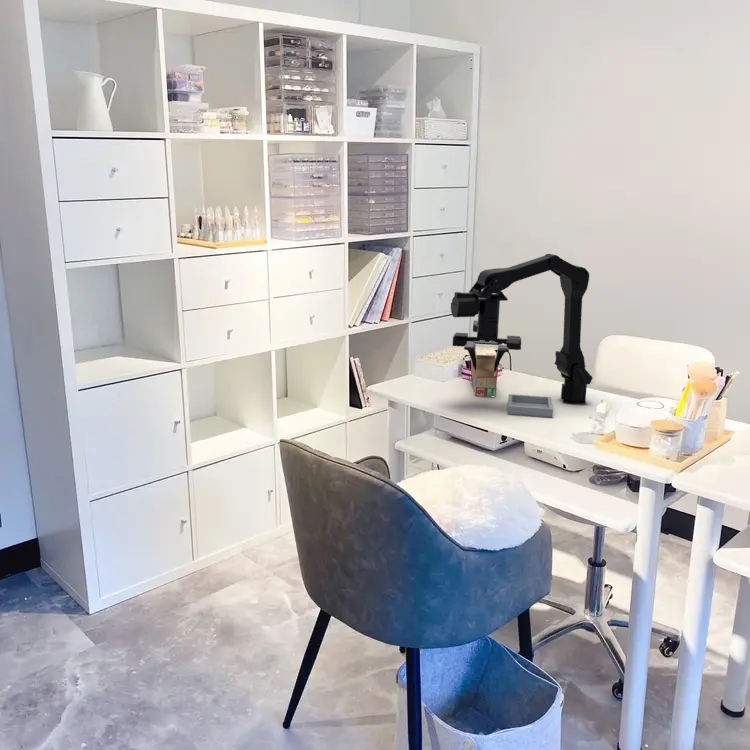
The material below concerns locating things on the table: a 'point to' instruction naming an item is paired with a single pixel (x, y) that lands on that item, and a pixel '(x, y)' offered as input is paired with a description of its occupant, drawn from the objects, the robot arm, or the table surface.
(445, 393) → the table surface
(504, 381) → the table surface
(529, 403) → the grey tray
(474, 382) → the stack of blocks
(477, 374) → the walnut cube
